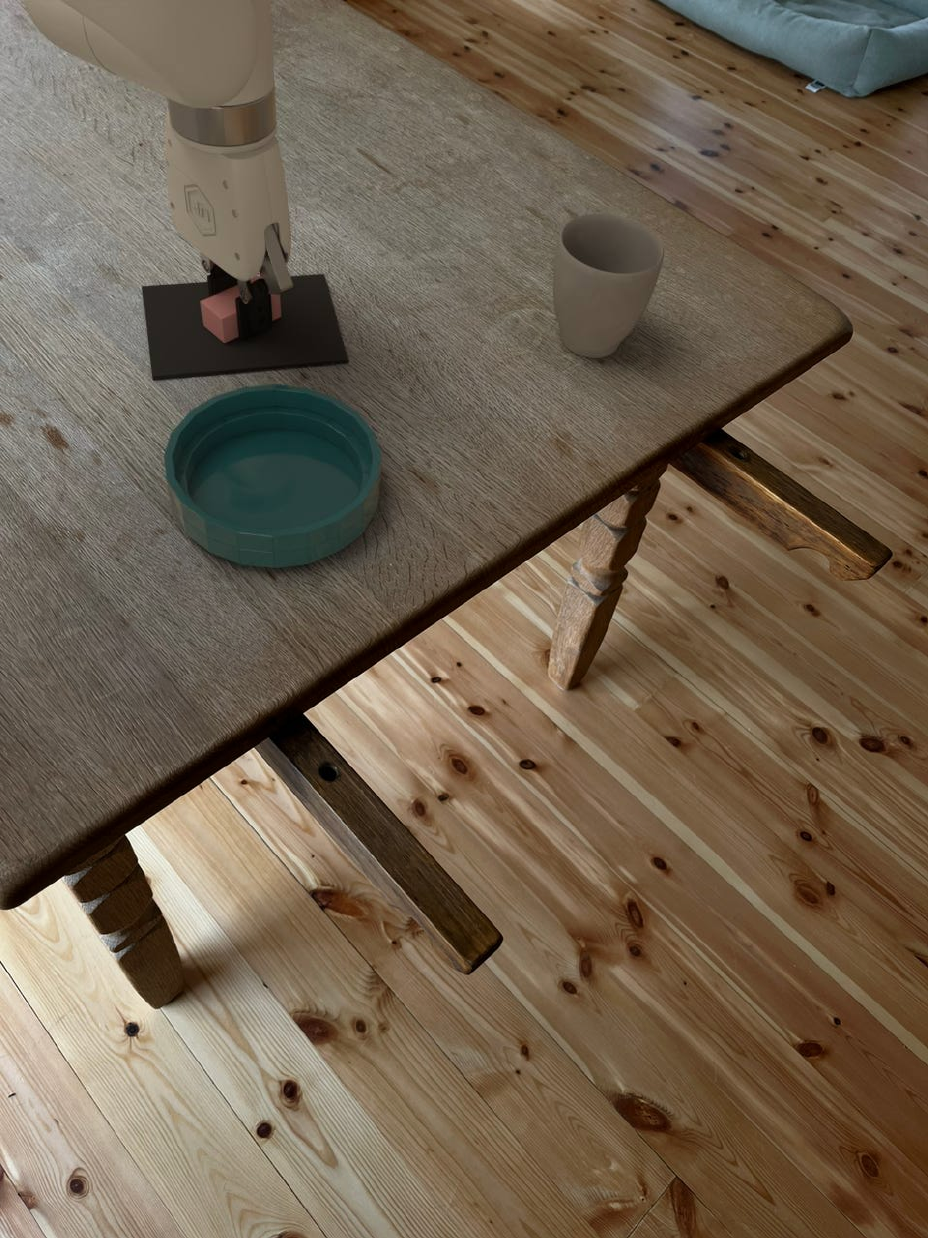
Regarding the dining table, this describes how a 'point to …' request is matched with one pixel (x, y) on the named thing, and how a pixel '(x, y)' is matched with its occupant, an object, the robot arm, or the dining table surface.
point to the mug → (603, 280)
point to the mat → (198, 352)
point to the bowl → (273, 475)
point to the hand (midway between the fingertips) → (242, 319)
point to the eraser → (229, 313)
